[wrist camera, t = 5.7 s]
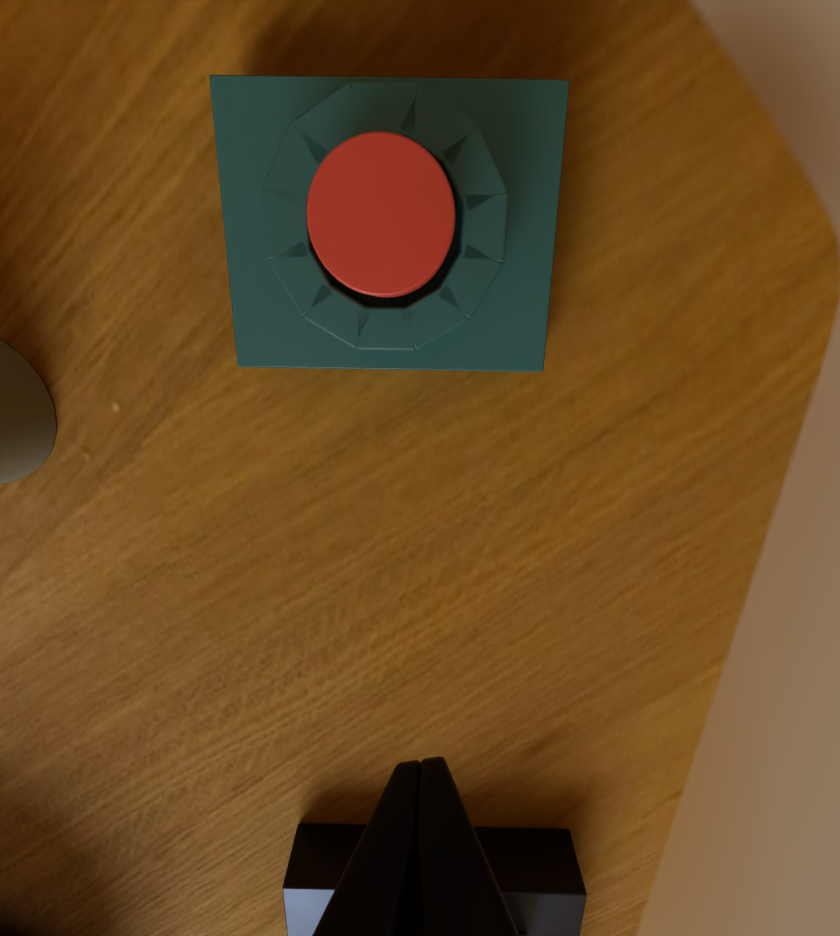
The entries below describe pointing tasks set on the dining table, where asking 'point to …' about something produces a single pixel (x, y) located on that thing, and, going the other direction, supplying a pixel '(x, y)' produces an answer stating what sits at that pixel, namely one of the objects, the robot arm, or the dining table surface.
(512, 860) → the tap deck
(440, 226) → the button
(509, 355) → the button block
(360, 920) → the robot arm
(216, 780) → the dining table surface
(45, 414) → the brown pawn
